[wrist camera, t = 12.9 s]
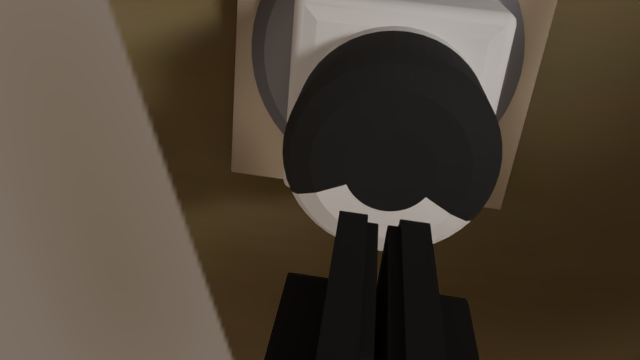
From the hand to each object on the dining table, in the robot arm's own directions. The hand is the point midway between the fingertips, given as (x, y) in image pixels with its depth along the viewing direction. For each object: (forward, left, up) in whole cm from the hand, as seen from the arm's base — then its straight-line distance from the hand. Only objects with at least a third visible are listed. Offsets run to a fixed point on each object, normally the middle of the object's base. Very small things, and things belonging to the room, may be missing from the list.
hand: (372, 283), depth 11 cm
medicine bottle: (0, 0, -17) cm, 17 cm away
